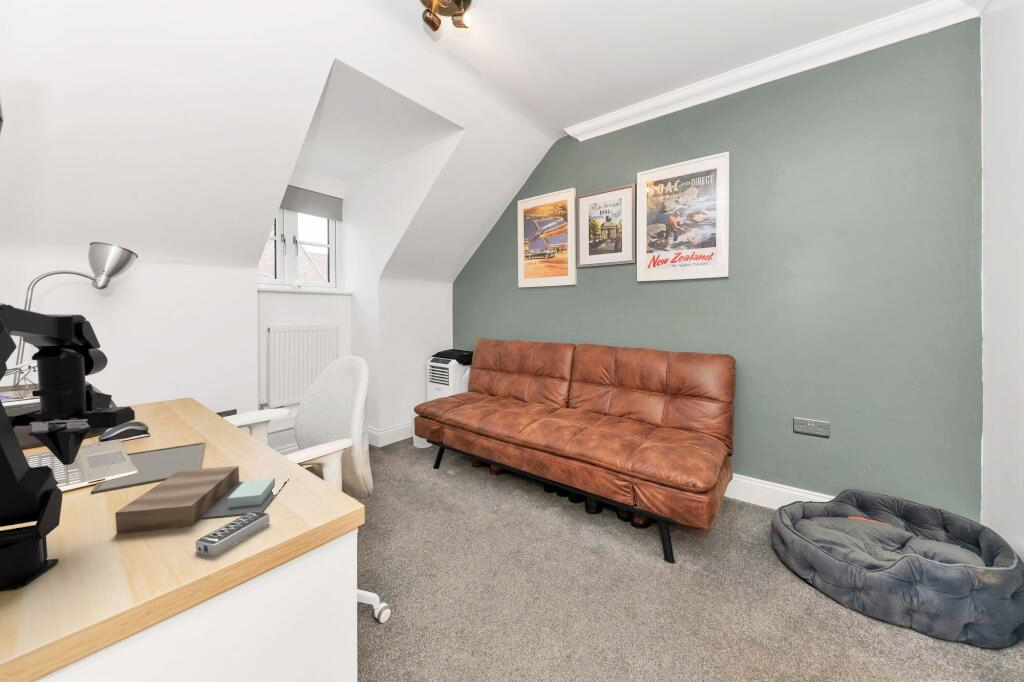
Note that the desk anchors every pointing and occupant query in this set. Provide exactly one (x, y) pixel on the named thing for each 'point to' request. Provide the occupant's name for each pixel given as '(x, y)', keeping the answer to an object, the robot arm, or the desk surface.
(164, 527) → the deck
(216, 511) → the mat
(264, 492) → the block
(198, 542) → the multiport hub
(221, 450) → the desk surface
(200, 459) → the thin grey panel
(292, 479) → the desk surface
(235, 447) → the desk surface
